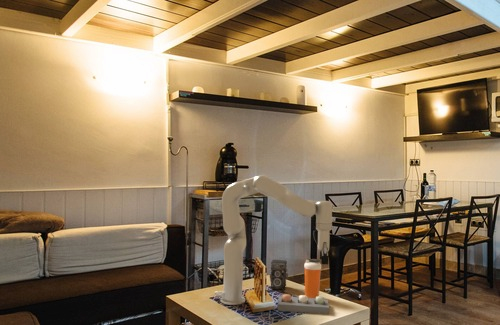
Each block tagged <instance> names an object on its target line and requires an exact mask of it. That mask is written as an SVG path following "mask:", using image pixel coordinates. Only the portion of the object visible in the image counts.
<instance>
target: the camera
mask: <svg viewBox="0 0 500 325" xmlns="http://www.w3.org/2000/svg"><path fill="white" fill-rule="evenodd" d="M287 262H288V261H287V260H286V259H285V260H282V259H272V261H271V262H270V273H269V281H270V289H272V290H282V291H284V290H285V289H286V287H287V280H288V279H289V273H287V272H288V269H287Z"/></svg>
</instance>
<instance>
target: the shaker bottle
mask: <svg viewBox="0 0 500 325" xmlns="http://www.w3.org/2000/svg"><path fill="white" fill-rule="evenodd" d="M303 265H304V295H306V296H307V298H316V297H317V296H320V289H321V288H320V285H321V274H322V272H321V271H322V264H321V259H320V258H319V259H316V258H312V259H311V258H310V257H308V258H307V259H305V262H304V264H303Z"/></svg>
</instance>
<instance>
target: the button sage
mask: <svg viewBox="0 0 500 325" xmlns="http://www.w3.org/2000/svg"><path fill="white" fill-rule="evenodd" d="M324 299H325V297H324V296H322V295H319V296H317V297H316V304H321V305H324Z"/></svg>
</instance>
